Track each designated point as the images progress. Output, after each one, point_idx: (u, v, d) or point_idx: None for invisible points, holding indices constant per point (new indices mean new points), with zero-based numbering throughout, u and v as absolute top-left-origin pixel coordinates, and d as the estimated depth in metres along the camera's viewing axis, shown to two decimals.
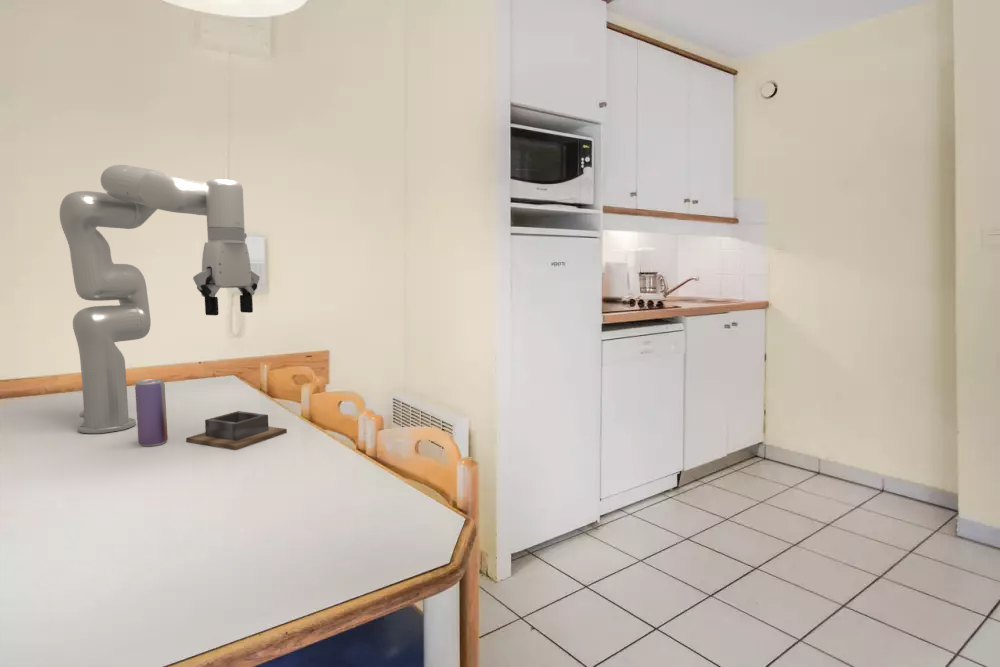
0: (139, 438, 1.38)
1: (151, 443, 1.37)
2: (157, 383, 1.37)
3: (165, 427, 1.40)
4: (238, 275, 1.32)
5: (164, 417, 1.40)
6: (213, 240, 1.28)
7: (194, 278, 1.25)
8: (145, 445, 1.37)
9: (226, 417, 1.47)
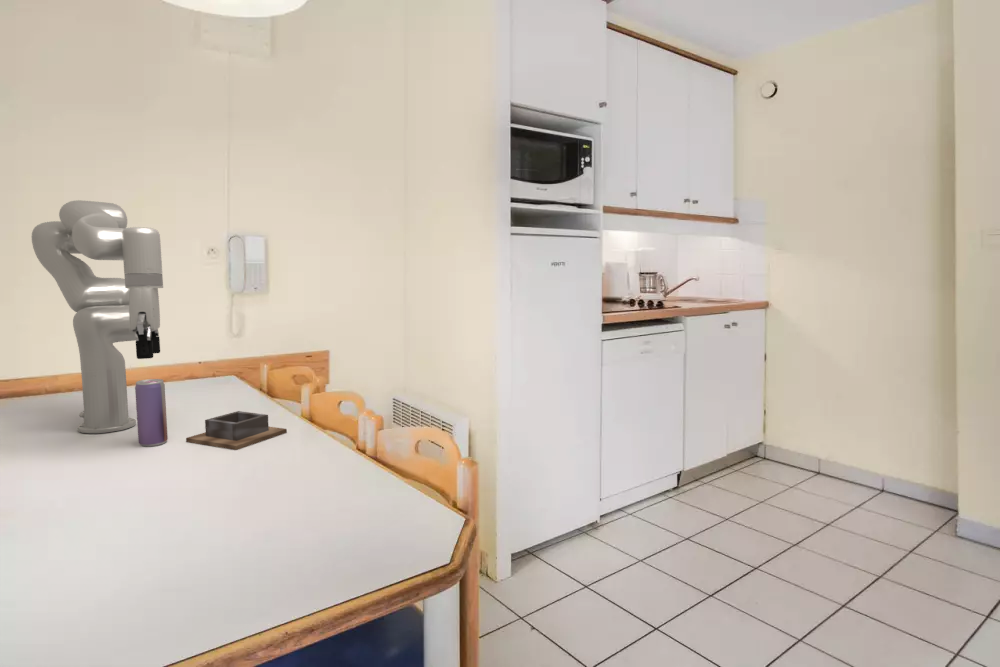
0: (139, 438, 1.38)
1: (151, 443, 1.37)
2: (157, 383, 1.37)
3: (165, 427, 1.40)
4: (158, 318, 1.38)
5: (164, 417, 1.40)
6: (142, 286, 1.33)
7: (138, 324, 1.29)
8: (145, 445, 1.37)
9: (226, 417, 1.47)
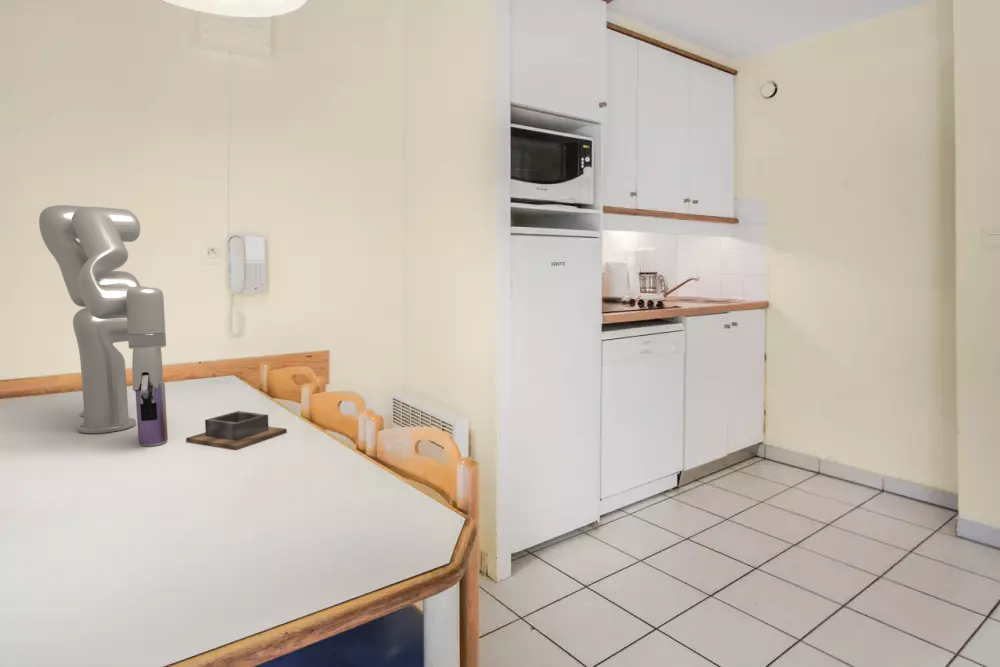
0: (139, 438, 1.38)
1: (151, 443, 1.37)
2: None
3: (165, 427, 1.40)
4: (161, 376, 1.40)
5: (164, 417, 1.40)
6: (145, 346, 1.34)
7: (142, 392, 1.32)
8: (145, 445, 1.37)
9: (226, 417, 1.47)
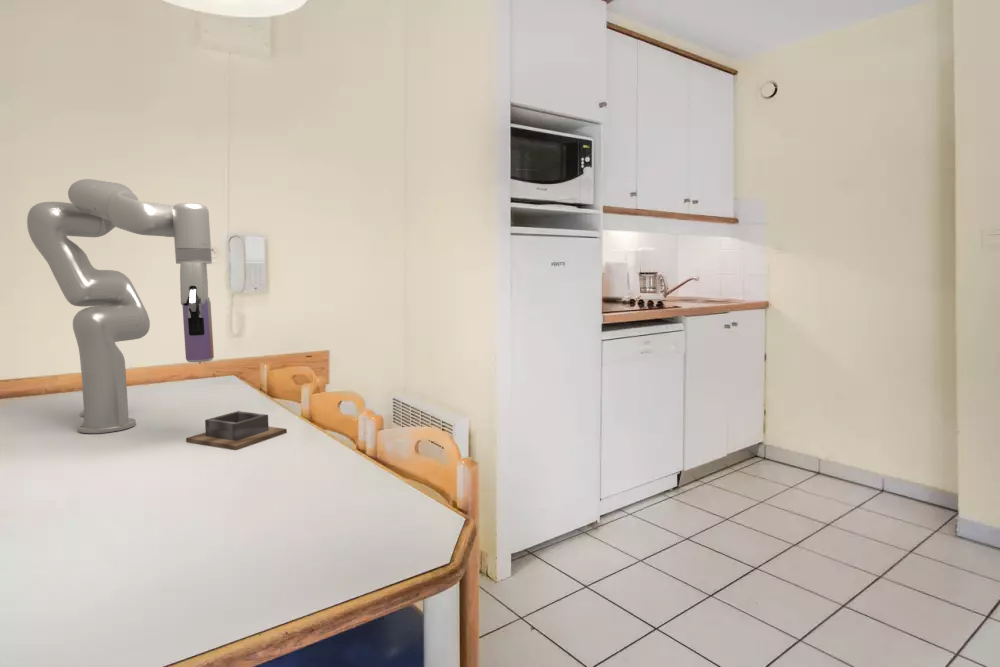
0: (186, 354, 1.39)
1: (198, 358, 1.38)
2: None
3: (211, 344, 1.41)
4: (207, 293, 1.41)
5: (210, 334, 1.40)
6: (192, 261, 1.35)
7: (191, 304, 1.33)
8: (192, 360, 1.38)
9: (226, 417, 1.47)
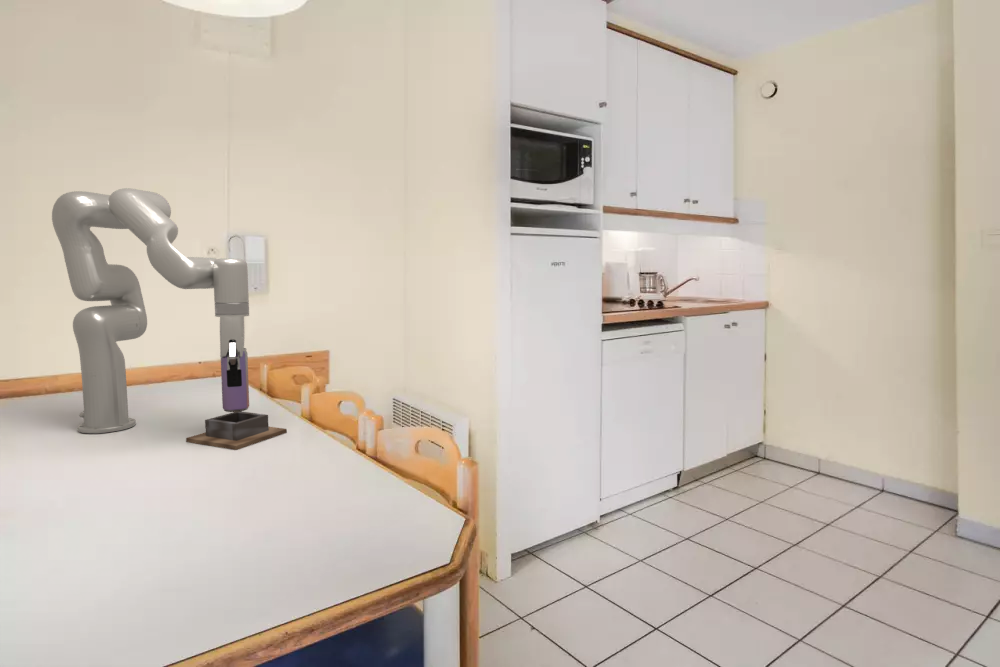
0: (224, 404, 1.43)
1: (235, 409, 1.42)
2: None
3: (248, 394, 1.45)
4: None
5: (247, 384, 1.44)
6: (232, 315, 1.39)
7: (231, 358, 1.37)
8: (230, 410, 1.42)
9: (226, 417, 1.47)
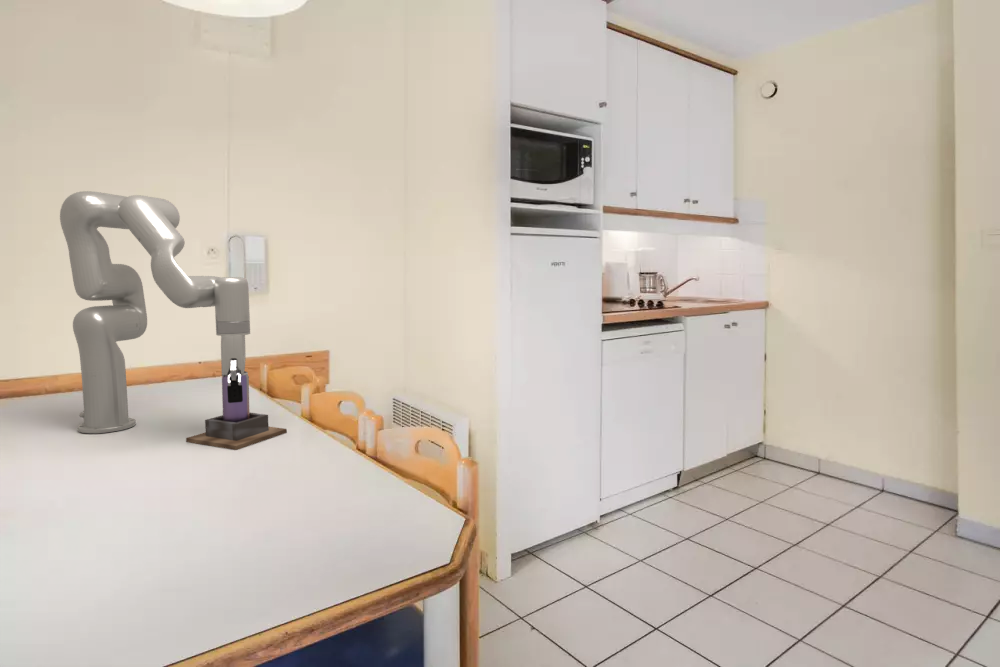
0: None
1: None
2: (243, 375, 1.43)
3: (248, 417, 1.46)
4: None
5: (248, 407, 1.45)
6: (233, 333, 1.40)
7: (232, 371, 1.36)
8: None
9: None
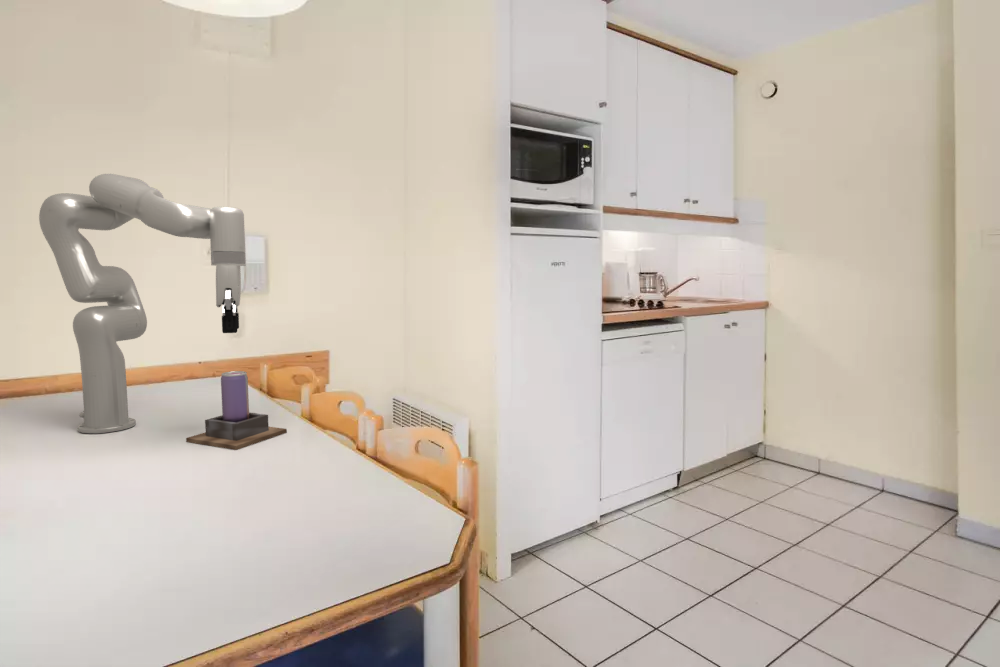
0: None
1: None
2: (242, 375, 1.43)
3: (248, 417, 1.46)
4: None
5: (247, 407, 1.45)
6: (228, 263, 1.38)
7: (226, 299, 1.35)
8: None
9: None
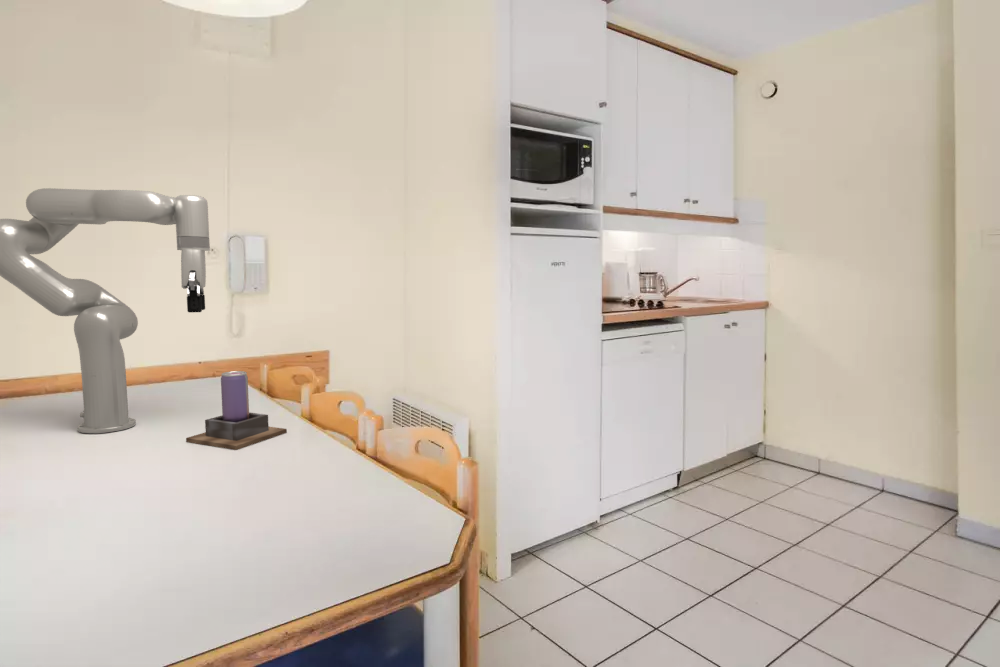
0: None
1: None
2: (242, 375, 1.43)
3: (248, 417, 1.46)
4: (205, 277, 1.55)
5: (247, 407, 1.45)
6: (193, 248, 1.49)
7: (190, 280, 1.45)
8: None
9: None
